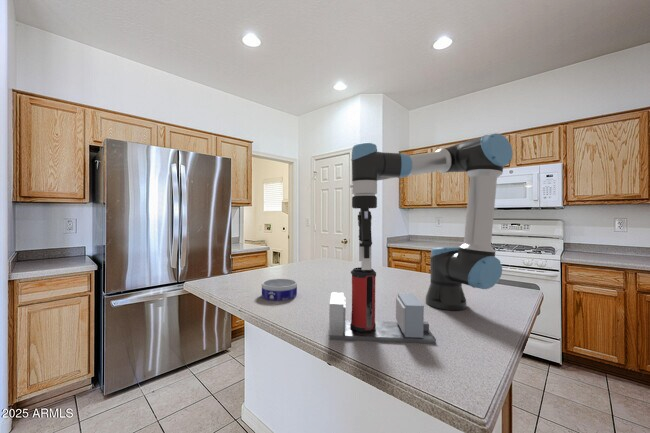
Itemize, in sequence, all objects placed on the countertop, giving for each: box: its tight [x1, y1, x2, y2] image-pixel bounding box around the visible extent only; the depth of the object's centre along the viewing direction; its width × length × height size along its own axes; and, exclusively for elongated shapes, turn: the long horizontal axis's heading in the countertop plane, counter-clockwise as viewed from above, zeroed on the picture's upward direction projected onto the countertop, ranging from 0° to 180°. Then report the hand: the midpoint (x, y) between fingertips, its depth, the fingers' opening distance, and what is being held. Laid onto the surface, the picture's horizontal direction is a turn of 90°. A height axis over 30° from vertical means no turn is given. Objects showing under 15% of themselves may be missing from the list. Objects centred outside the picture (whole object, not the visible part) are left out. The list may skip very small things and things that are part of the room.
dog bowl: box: [261, 278, 298, 302], centre depth 124 cm, size 15×15×6 cm
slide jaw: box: [395, 292, 430, 338], centre depth 86 cm, size 9×12×9 cm
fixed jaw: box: [328, 291, 347, 336], centre depth 88 cm, size 5×12×9 cm, turn 176°
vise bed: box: [328, 319, 437, 344], centre depth 87 cm, size 30×12×1 cm, turn 86°
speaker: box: [350, 266, 377, 332], centre depth 87 cm, size 8×8×18 cm
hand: (364, 265), depth 87 cm, fingers open, 13 cm apart
